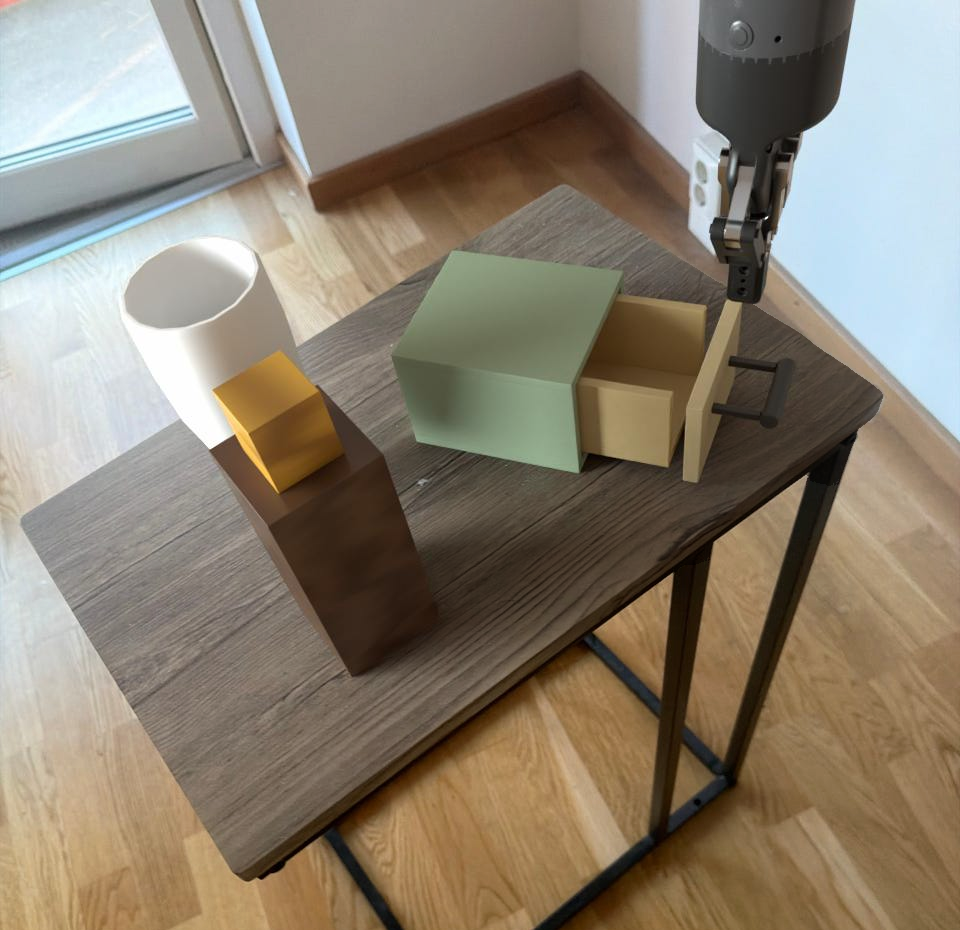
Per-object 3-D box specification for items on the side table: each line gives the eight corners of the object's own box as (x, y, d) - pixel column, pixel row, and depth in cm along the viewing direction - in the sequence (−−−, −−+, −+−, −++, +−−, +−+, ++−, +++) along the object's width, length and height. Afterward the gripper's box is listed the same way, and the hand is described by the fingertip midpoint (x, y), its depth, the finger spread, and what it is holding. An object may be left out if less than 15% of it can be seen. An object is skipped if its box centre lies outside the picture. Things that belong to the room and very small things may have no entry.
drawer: (795, 388, 75) (810, 309, 68) (762, 495, 70) (774, 422, 63) (577, 354, 81) (571, 279, 74) (533, 451, 76) (522, 379, 69)
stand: (385, 552, 74) (317, 383, 59) (441, 617, 70) (383, 454, 55) (300, 608, 72) (207, 449, 57) (352, 678, 68) (267, 527, 53)
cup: (376, 506, 76) (291, 288, 58) (262, 567, 75) (138, 362, 57) (325, 431, 82) (233, 209, 64) (218, 486, 80) (93, 275, 62)
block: (307, 411, 57) (280, 348, 53) (345, 453, 55) (319, 390, 51) (243, 450, 56) (211, 389, 52) (279, 494, 54) (247, 434, 50)
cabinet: (626, 365, 80) (623, 270, 72) (579, 474, 75) (571, 385, 67) (471, 340, 85) (452, 249, 77) (416, 442, 79) (390, 355, 71)
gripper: (824, 90, 43) (780, 374, 57) (878, -55, 48) (825, 237, 63) (664, 81, 45) (661, 356, 60) (733, -56, 51) (715, 226, 66)
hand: (745, 294), depth 61 cm, fingers closed
